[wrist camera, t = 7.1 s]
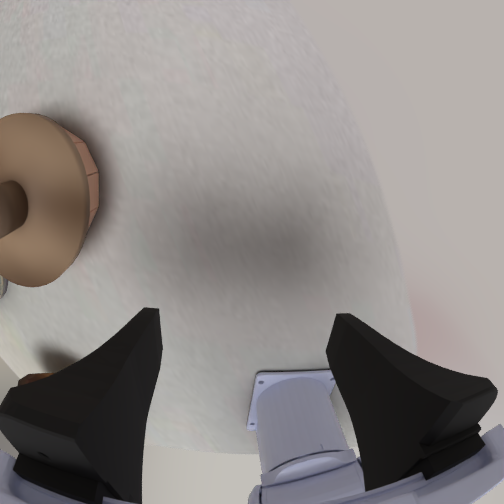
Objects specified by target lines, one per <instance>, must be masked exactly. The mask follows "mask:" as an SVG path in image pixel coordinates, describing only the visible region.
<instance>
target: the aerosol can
mask: <svg viewBox="0 0 504 504" xmlns="http://www.w3.org/2000/svg"><path fill="white" fill-rule="evenodd" d="M7 285H8V280H7V279H5V278H4V277H2V276H1V275H0V298H2V297H3V295H4V294H5V292H6V290H7Z"/></svg>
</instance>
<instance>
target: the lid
mask: <svg viewBox="0 0 504 504" xmlns="http://www.w3.org/2000/svg"><path fill="white" fill-rule="evenodd" d="M89 217H90V191H89V184H88V178H87V174H86V170H85V167H84V164H83V161H82V158H81V156H80V153H79V151H78V149H77V147H76V145H75V143H74V142H73V140H72V139H71V138H70V136H69V135H68V133H67V132H66V131H65V130H64V129H63V128H62V127H61V126H60V125H59V124H57V123H56V122H55V121H53V120H51V119H50V118H48V117H46V116H43V115H40V114H33V113H16V114H11V115H8V116H5V117H3V118H1V119H0V275H1V276H2V277H4V278H5V279H7V280H9V281H11V282H13V283H15V284H17V285H21V286H26V287H39V286H43V285H47V284H49V283H51V282H53V281H54V280H56V279H57V278H58V277H60V276H61V275H62V274H63V272H64V271H65V270H66V269H67V268H68V267H69V266H70V265H71V264H72V263H73V262H74V260H75V259H76V258H77V256H78V254H79V252H80V250H81V249H82V246H83V243H84V241H85V238H86V234H87V230H88V225H89Z"/></svg>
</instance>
